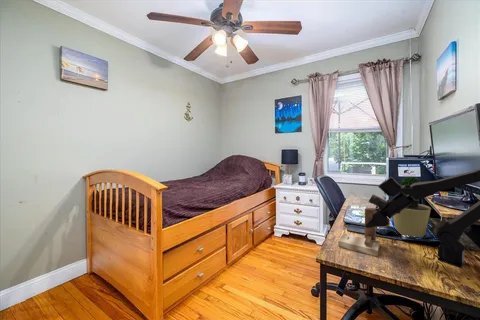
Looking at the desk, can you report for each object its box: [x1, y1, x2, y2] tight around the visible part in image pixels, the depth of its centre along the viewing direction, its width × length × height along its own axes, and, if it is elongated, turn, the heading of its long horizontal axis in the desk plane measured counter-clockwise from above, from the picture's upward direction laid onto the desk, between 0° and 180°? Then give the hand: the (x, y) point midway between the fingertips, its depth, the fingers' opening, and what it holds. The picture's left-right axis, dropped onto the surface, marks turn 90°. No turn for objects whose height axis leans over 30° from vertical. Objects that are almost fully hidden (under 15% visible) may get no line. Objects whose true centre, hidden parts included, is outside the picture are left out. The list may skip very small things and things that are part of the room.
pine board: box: [337, 233, 381, 257], centre depth 94 cm, size 15×10×3 cm, turn 51°
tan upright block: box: [364, 206, 377, 246], centre depth 93 cm, size 4×12×16 cm, turn 141°
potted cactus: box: [392, 176, 432, 237], centre depth 104 cm, size 15×15×30 cm
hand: (367, 223), depth 98 cm, fingers open, 9 cm apart
